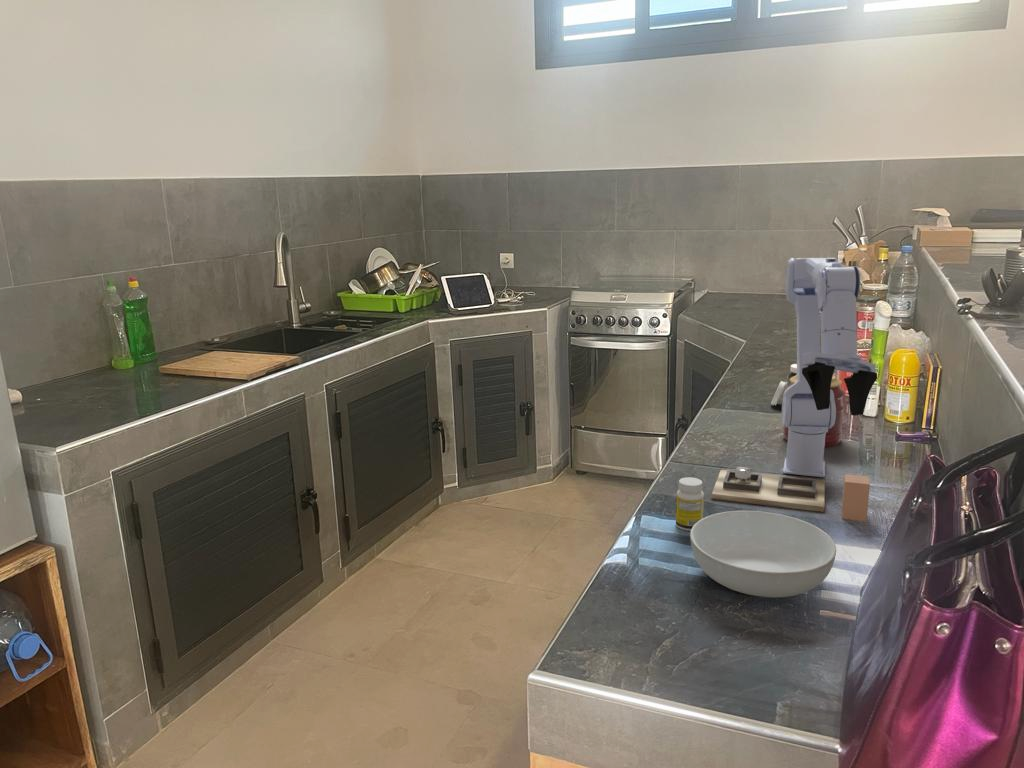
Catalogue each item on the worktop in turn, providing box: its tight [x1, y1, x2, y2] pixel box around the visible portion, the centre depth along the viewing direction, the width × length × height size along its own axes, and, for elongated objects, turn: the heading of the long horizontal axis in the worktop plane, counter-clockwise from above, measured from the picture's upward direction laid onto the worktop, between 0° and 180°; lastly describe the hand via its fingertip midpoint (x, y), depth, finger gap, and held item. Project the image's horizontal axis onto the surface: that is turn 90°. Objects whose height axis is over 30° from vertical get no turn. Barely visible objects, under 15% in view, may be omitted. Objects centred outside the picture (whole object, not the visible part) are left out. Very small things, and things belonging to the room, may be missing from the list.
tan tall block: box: [841, 473, 871, 522], centre depth 140 cm, size 4×4×7 cm
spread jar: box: [770, 363, 797, 407], centre depth 208 cm, size 12×11×12 cm
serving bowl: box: [689, 510, 837, 598], centre depth 118 cm, size 21×21×7 cm
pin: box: [734, 466, 752, 484], centre depth 154 cm, size 3×3×3 cm
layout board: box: [711, 469, 826, 513], centre depth 152 cm, size 14×20×2 cm
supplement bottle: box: [675, 476, 705, 532], centre depth 137 cm, size 5×5×8 cm
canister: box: [781, 374, 846, 448], centre depth 181 cm, size 13×13×18 cm
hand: (840, 412), depth 132 cm, fingers open, 7 cm apart
